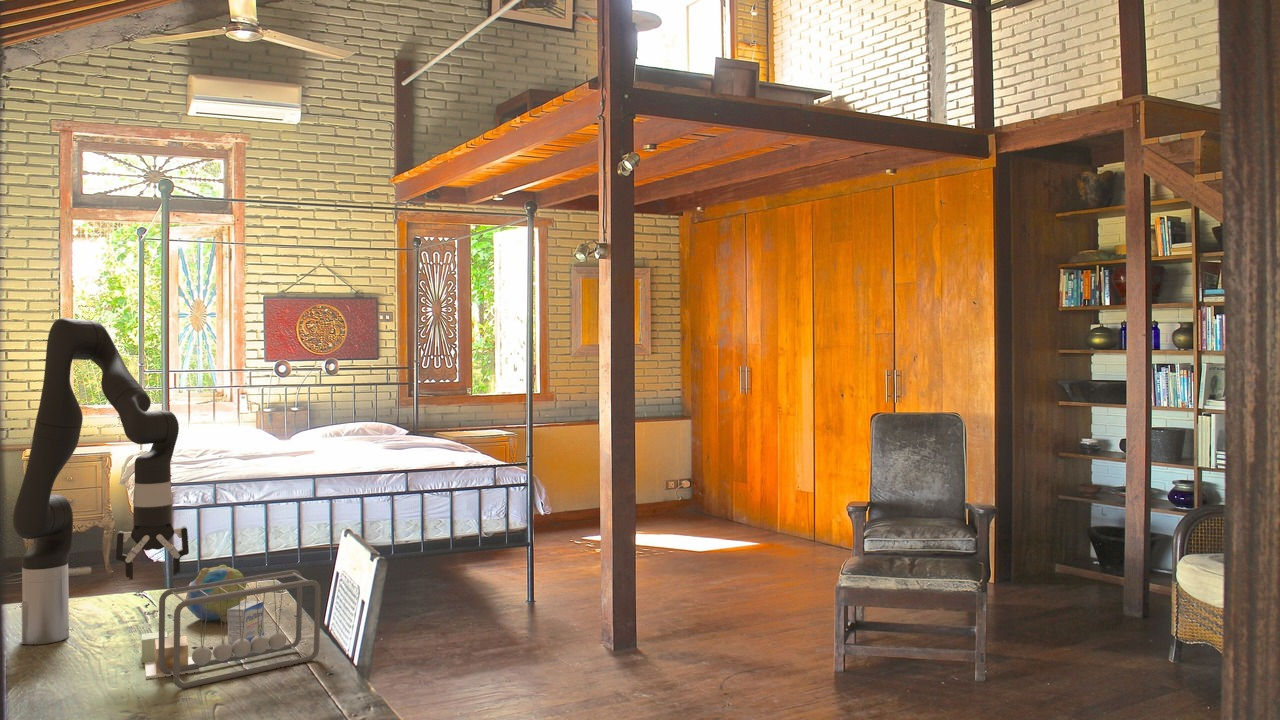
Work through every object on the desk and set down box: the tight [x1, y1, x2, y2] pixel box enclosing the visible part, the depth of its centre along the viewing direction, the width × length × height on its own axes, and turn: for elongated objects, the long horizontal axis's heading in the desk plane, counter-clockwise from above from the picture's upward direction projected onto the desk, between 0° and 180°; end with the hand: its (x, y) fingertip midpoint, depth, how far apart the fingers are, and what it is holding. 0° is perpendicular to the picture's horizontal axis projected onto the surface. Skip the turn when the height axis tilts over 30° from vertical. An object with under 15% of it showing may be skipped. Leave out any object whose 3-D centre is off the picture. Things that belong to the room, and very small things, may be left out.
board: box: [144, 656, 200, 680], centre depth 214 cm, size 10×10×1 cm
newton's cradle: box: [158, 569, 322, 689], centre depth 213 cm, size 30×10×18 cm, turn 132°
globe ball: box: [185, 564, 248, 624], centre depth 252 cm, size 14×16×15 cm
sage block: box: [141, 631, 168, 664], centre depth 221 cm, size 5×5×5 cm
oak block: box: [155, 635, 189, 673], centre depth 214 cm, size 6×8×5 cm
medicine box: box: [227, 600, 265, 647], centre depth 232 cm, size 8×4×9 cm, turn 168°
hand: (152, 577), depth 221 cm, fingers open, 8 cm apart
